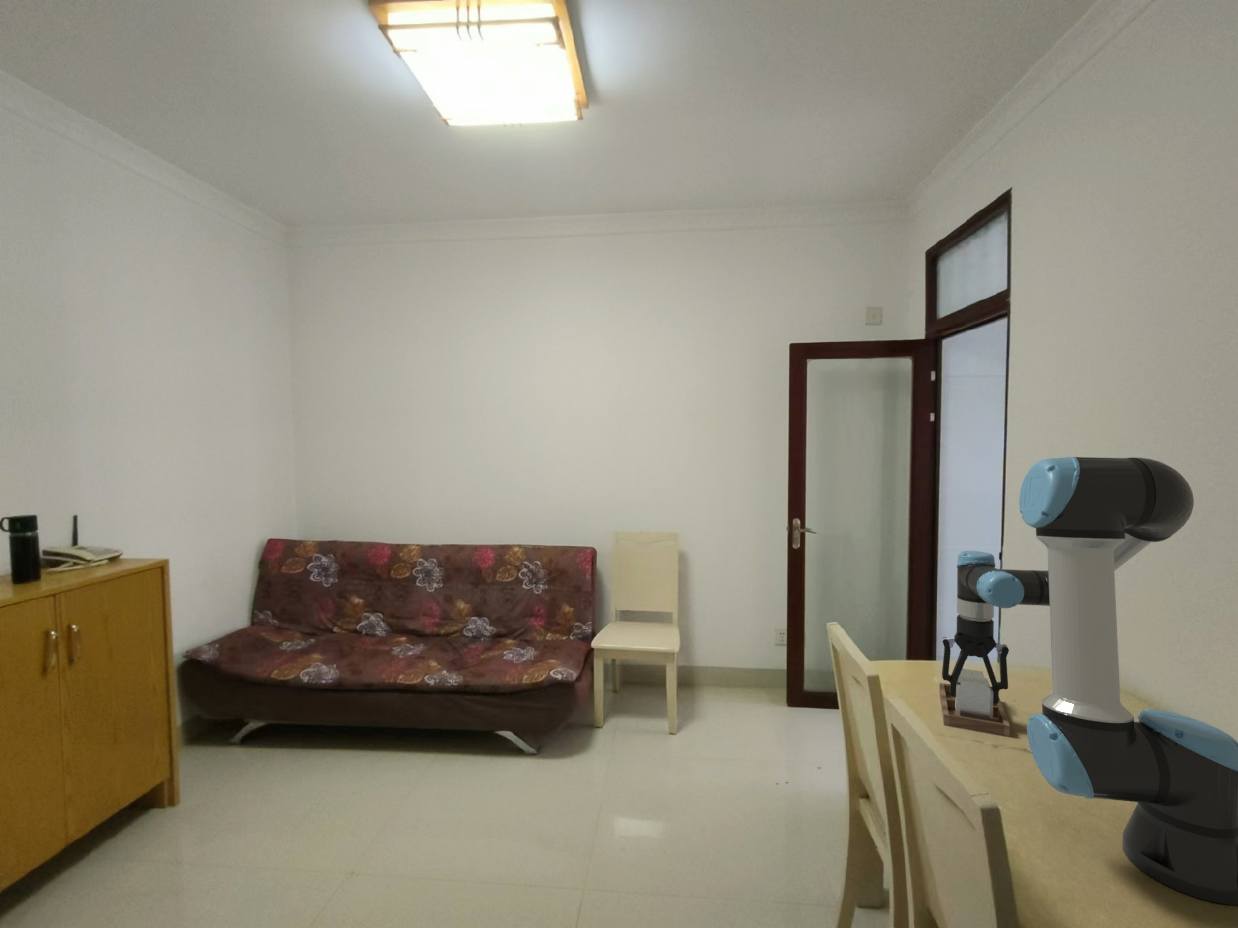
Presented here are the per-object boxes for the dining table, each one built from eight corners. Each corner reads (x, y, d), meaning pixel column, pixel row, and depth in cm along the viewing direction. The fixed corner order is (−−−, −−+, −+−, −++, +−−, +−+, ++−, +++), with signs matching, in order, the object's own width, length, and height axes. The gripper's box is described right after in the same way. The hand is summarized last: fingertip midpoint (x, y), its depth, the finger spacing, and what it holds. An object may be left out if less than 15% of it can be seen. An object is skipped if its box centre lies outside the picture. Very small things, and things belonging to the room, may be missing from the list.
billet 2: (989, 721, 135) (990, 687, 135) (960, 716, 138) (960, 683, 138) (986, 711, 141) (987, 678, 140) (958, 706, 143) (958, 674, 143)
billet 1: (984, 711, 144) (985, 679, 144) (956, 706, 147) (957, 675, 147) (982, 702, 150) (982, 671, 149) (955, 697, 152) (955, 667, 152)
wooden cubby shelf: (1009, 741, 132) (1009, 726, 131) (943, 729, 137) (943, 714, 137) (996, 704, 150) (996, 691, 150) (939, 695, 156) (939, 682, 156)
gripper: (1020, 617, 138) (1018, 714, 138) (929, 608, 146) (928, 699, 147) (1026, 626, 131) (1024, 727, 132) (930, 615, 140) (929, 711, 140)
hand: (973, 712), depth 139 cm, fingers closed on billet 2, 6 cm apart
